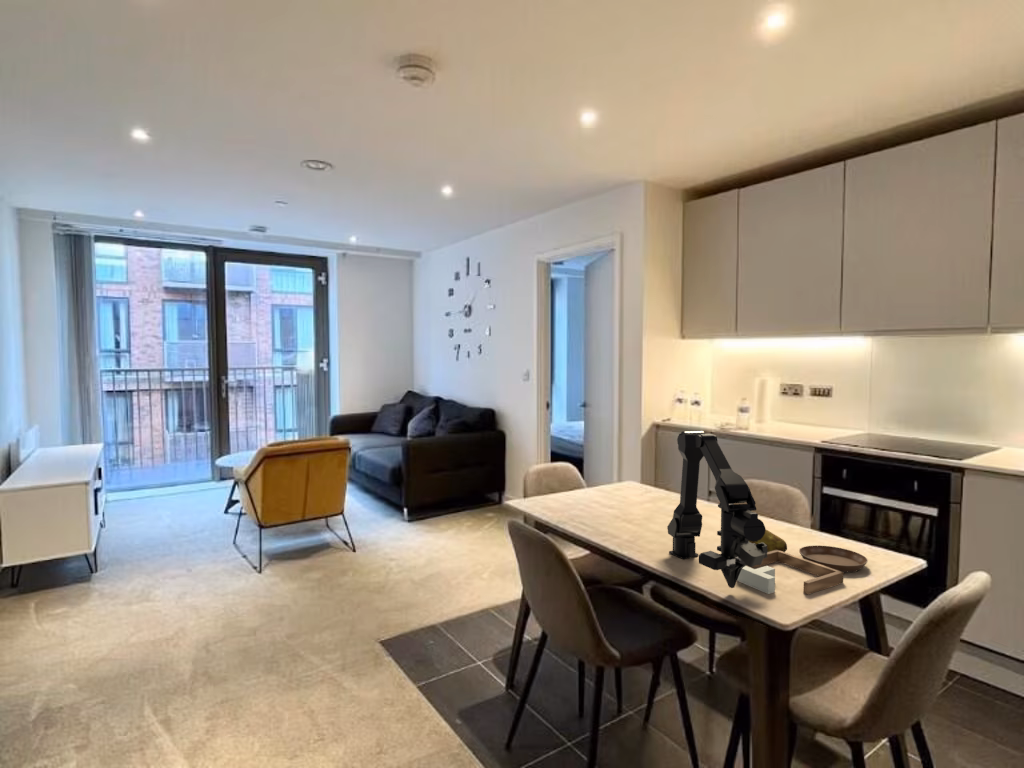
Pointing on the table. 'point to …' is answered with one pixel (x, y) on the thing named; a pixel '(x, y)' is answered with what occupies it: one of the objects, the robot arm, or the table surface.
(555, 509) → the table surface
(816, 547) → the plant saucer
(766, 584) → the t block
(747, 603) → the table surface
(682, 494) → the robot arm
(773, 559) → the corral
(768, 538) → the potato
